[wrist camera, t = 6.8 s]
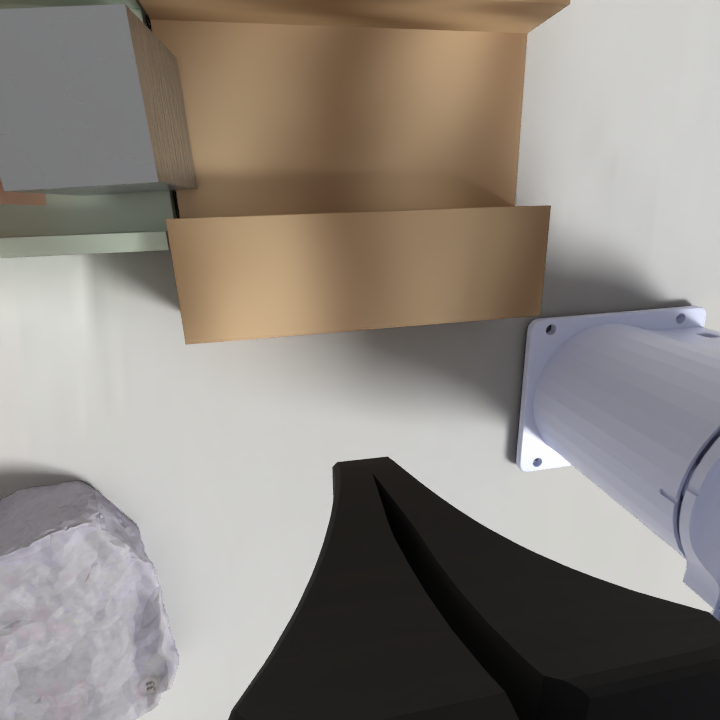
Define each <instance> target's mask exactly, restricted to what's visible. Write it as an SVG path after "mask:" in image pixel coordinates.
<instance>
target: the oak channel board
mask: <svg viewBox="0 0 720 720" xmlns="http://www.w3.org/2000/svg"><path fill="white" fill-rule="evenodd" d="M139 2H140V3H141V5H142V7H143V8H144V10H145V12H146V13H147V15H148V17H149V18H150V21H151V28H152V33H153V34H154V35H155V36H156V37H157V38H158V39H159V40H160V41H161V42H162V43H163V44H164V45H165V46H166V47H167V48H168V49H169V50H170V51H171V52H172V53H173V54H174V55H175V56H176V58H177V64H178V70H179V77H180V83H181V89H182V95H183V101H184V107H185V113H186V119H187V126H188V132H189V138H190V144H191V150H192V156H193V162H194V168H195V174H196V181H197V187H198V189H186V190H176V194H177V201H178V207H179V214H180V218H176V219H166V224H167V230H168V236H169V243H170V249H171V255H172V261H173V268H174V274H175V280H176V286H177V293H178V299H179V305H180V311H181V318H182V324H183V330H184V336H185V343H186V344H197V343H209V342H222V341H234V340H246V339H258V338H271V337H283V336H295V335H308V334H320V333H332V332H344V331H357V330H369V329H381V328H394V327H406V326H418V325H430V324H443V323H455V322H467V321H480V320H492V319H504V318H516V317H529V316H540V314H541V304H542V293H543V283H544V272H545V262H546V251H547V241H548V230H549V220H550V209H551V206H515V198H516V184H517V170H518V156H519V142H520V128H521V114H522V100H523V86H524V72H525V58H526V44H527V33H528V32H530V31H531V30H533V29H534V28H536V27H537V26H539V25H540V24H542V23H543V22H545V21H546V20H547V19H549V18H550V17H552V16H553V15H555V14H556V13H558V12H559V11H561V10H562V9H563V8H565V7H566V6H568V5H569V4H570V0H139Z"/></svg>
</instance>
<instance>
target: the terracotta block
mask: <svg viewBox="0 0 720 720" xmlns="http://www.w3.org/2000/svg"><path fill="white" fill-rule="evenodd" d="M0 204H11V205H43V206H47V205H46V199H45V194H41V193H25V192H8V191H4V189H3V185H2V182H1V178H0Z"/></svg>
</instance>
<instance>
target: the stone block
mask: <svg viewBox="0 0 720 720" xmlns="http://www.w3.org/2000/svg"><path fill="white" fill-rule="evenodd" d="M178 665H179V654H178V652H177V649H176V646H175V642H174V639H173V637H172V634H171V630H170V628H169V625H168V616H167V614H166V612H165V609H164V604H163V601H162V591H161V588H160V585H159V583H158V580H157V577H156V573H155V569H154V566H153V563H152V562H151V561H150V560H149V559H148V557H147V555H146V553H145V552H144V544H143V542H142V541H141V536H140V531H139V528H138V526H137V524H136V523H134V522H133V521H131V520H130V519H128V518H127V517H126V516H125V515H124V514H123V513H122V512H121V511H120V510H119V509H118V508H117V507H116V506H115V505H113V504H112V503H111V502H110V501H108V500H107V499H106V498H105V497H104V496H103V495H102V494H101V493H100V492H98V491H97V490H95V489H94V488H92V487H91V486H89V485H87V484H85V483H83V482H81V481H70V482H63V483H60V484H55V485H48V486H38V487H31V488H27V489H20V490H17V491H16V492H15V493H13V494H11V495H9V496H7V497H5V498H3V499H1V500H0V720H136V719H138V718H140V717H141V716H143V715H144V714H146V713H147V712H149V711H151V710H153V709H154V708H155V707H156V706H158V704H159V701H160V696H161V694H162V693H163V692H165V691H167V690H169V689H170V688H171V686H172V685H173V681H174V678H175V675H176V671H177V668H178Z"/></svg>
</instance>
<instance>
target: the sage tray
mask: <svg viewBox="0 0 720 720" xmlns="http://www.w3.org/2000/svg"><path fill="white" fill-rule="evenodd" d="M113 4H125V5H126V6H127V7H128V8H129V9H130V10H131V11H132V12H133V13H134V14H135V15H136V16H137V17H138V18H139V19H140V20H141V21H142V22H143V23H144V24H145V25H146V26H147V22H146V15H145V10H144V8H143V7H142V5H141V3H140V2H139V0H0V9H13V8H38V7H63V6H88V5H113ZM45 199H46V205H47V206H43V205H11V204H0V258H10V257H31V256H53V255H74V254H96V253H117V252H138V251H160V250H170V243H169V236H168V230H167V224H166V219H176V212H175V205H174V199H173V192H172V190H169V191H153V192H137V193H120V194H104V195H88V196H75V195H58V194H45Z"/></svg>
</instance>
